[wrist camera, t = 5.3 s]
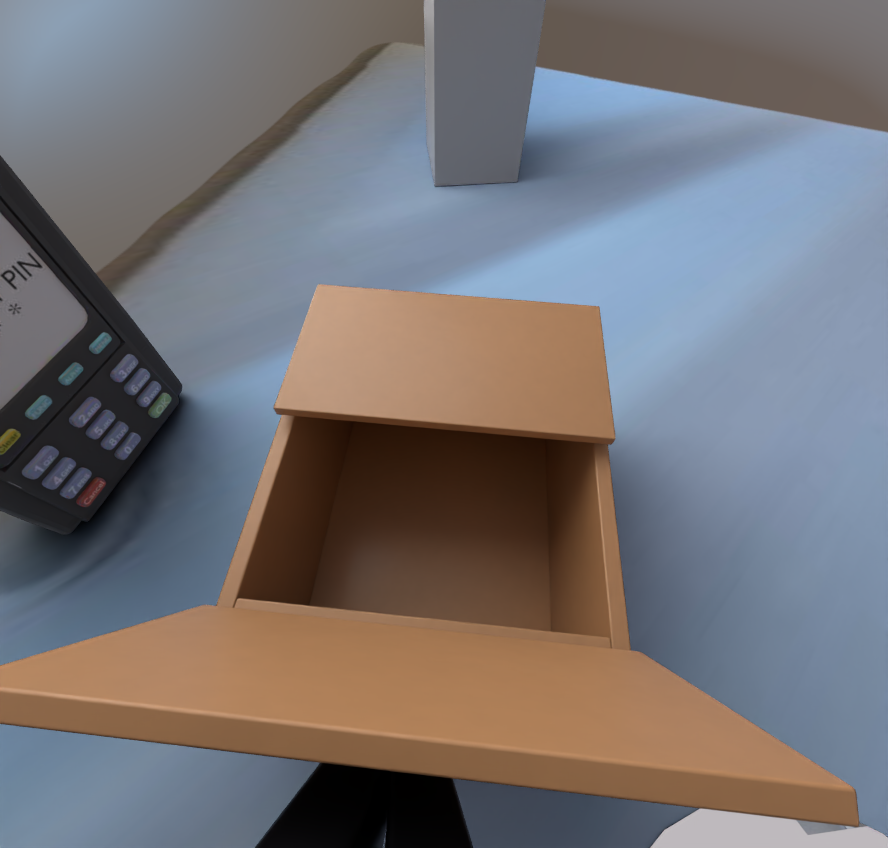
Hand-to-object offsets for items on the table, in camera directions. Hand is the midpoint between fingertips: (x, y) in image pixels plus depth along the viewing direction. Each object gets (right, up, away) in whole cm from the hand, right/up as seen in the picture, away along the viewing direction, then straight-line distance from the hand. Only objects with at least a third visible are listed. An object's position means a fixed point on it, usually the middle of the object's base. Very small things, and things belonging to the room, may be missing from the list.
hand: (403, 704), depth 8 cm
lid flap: (0, +1, 0) cm, 1 cm away
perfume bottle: (+3, +27, +29) cm, 40 cm away
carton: (+1, +1, +13) cm, 13 cm away
